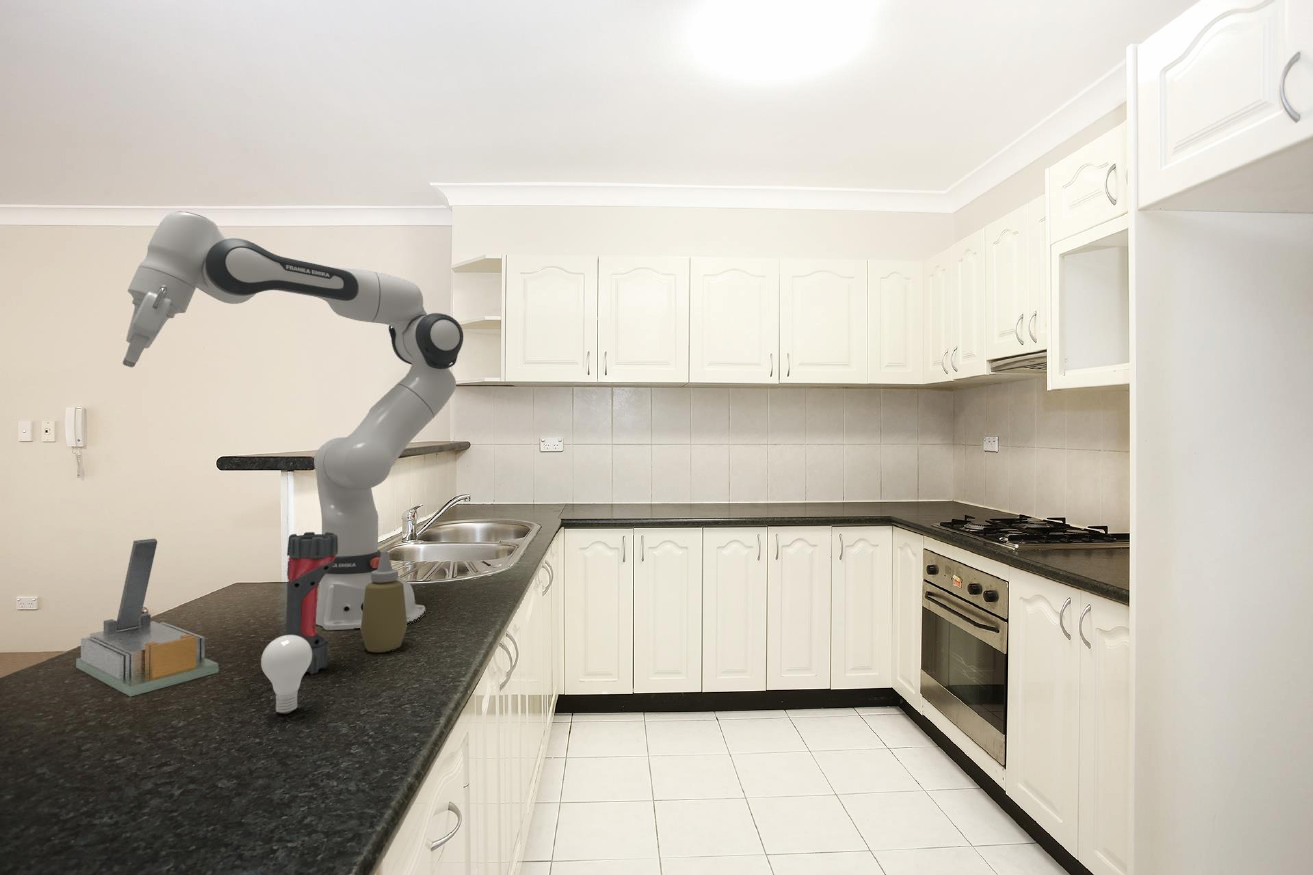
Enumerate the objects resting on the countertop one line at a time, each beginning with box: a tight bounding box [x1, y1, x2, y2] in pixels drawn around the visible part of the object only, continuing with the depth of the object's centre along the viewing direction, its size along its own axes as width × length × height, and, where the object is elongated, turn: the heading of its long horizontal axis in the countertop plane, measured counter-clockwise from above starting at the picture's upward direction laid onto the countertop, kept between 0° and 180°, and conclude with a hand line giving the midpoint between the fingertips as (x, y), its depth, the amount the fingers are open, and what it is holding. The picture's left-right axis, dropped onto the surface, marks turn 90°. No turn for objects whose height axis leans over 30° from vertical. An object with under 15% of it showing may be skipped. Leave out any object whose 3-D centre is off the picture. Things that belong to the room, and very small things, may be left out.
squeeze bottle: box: [360, 550, 408, 653], centre depth 120 cm, size 8×8×18 cm
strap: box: [116, 538, 158, 631], centre depth 111 cm, size 18×3×1 cm
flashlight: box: [283, 531, 338, 675], centre depth 109 cm, size 8×8×23 cm
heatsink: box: [75, 612, 219, 697], centre depth 108 cm, size 22×12×8 cm, turn 58°
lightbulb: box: [260, 634, 312, 715], centre depth 92 cm, size 6×6×11 cm
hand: (128, 363), depth 115 cm, fingers open, 8 cm apart
